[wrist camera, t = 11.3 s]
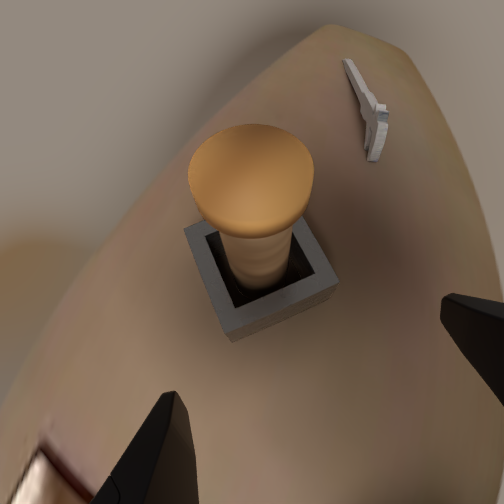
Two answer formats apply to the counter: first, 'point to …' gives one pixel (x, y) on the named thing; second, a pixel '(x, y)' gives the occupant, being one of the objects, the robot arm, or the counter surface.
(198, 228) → the socket block
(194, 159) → the pin
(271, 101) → the counter surface
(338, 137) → the counter surface
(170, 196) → the counter surface
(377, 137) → the caliper
